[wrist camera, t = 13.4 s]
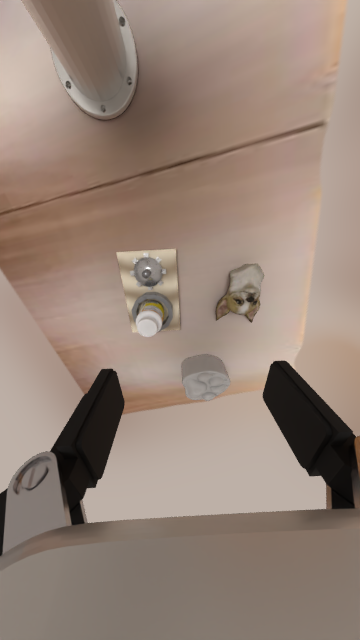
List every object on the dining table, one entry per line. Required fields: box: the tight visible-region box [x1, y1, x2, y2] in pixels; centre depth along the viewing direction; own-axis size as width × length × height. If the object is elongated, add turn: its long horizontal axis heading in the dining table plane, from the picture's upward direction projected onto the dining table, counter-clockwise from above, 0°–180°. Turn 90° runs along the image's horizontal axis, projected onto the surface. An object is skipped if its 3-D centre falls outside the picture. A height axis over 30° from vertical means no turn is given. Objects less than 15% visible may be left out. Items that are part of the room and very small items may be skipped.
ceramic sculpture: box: [216, 264, 264, 323], centre depth 37 cm, size 11×9×15 cm
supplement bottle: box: [136, 300, 164, 337], centre depth 36 cm, size 6×6×10 cm
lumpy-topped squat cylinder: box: [182, 354, 230, 401], centre depth 47 cm, size 10×13×9 cm
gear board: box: [116, 249, 180, 332], centre depth 40 cm, size 20×13×2 cm, turn 3°
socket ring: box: [132, 292, 173, 332], centre depth 39 cm, size 10×10×2 cm
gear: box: [130, 253, 166, 290], centre depth 35 cm, size 8×8×4 cm
